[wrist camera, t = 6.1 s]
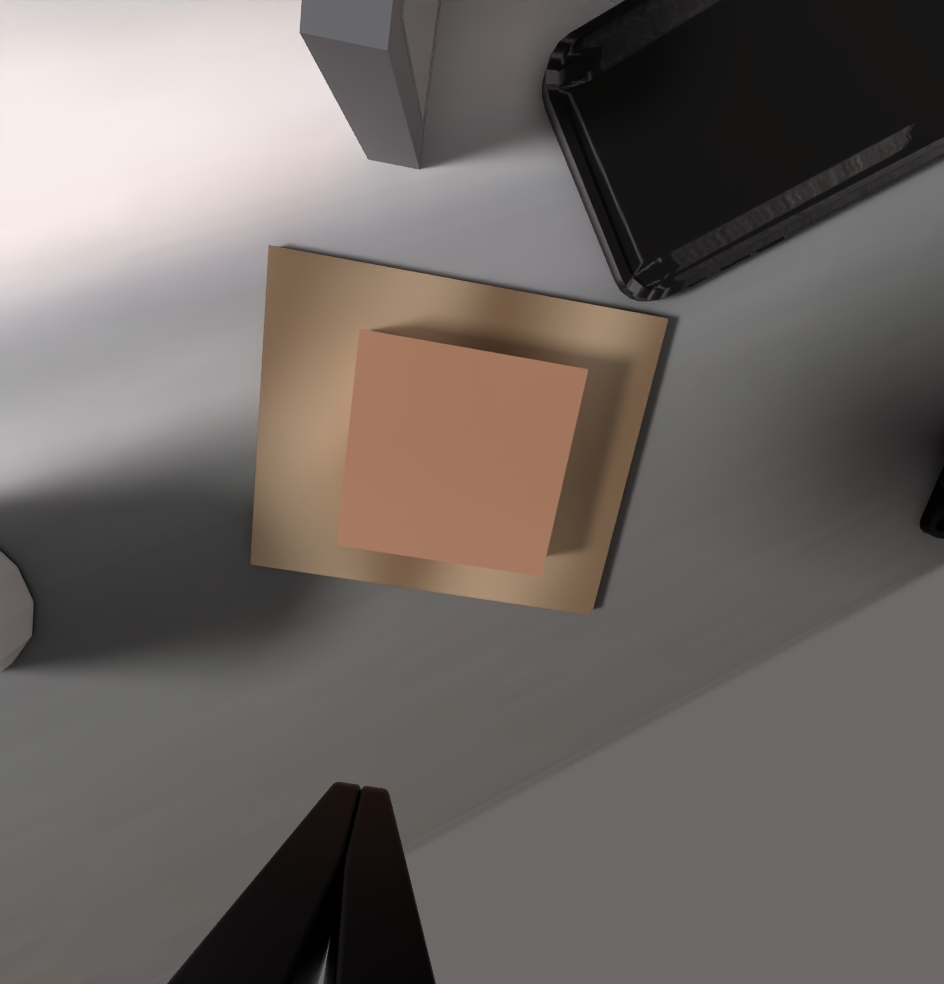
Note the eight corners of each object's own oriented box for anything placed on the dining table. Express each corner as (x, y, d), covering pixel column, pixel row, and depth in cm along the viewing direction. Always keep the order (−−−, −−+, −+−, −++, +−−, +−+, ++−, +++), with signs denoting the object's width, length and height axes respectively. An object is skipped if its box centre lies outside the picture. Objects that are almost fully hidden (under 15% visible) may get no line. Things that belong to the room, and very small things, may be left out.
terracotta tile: (369, 330, 17) (577, 366, 18) (347, 528, 19) (535, 557, 19) (359, 329, 16) (588, 369, 16) (336, 545, 18) (541, 576, 18)
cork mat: (664, 318, 18) (668, 318, 17) (589, 610, 21) (591, 615, 20) (273, 247, 17) (269, 245, 16) (254, 560, 20) (250, 564, 19)
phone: (532, 55, 15) (1074, -268, 13) (527, 74, 16) (1028, -222, 14) (636, 316, 17) (1119, 66, 15) (626, 317, 18) (1075, 84, 16)
